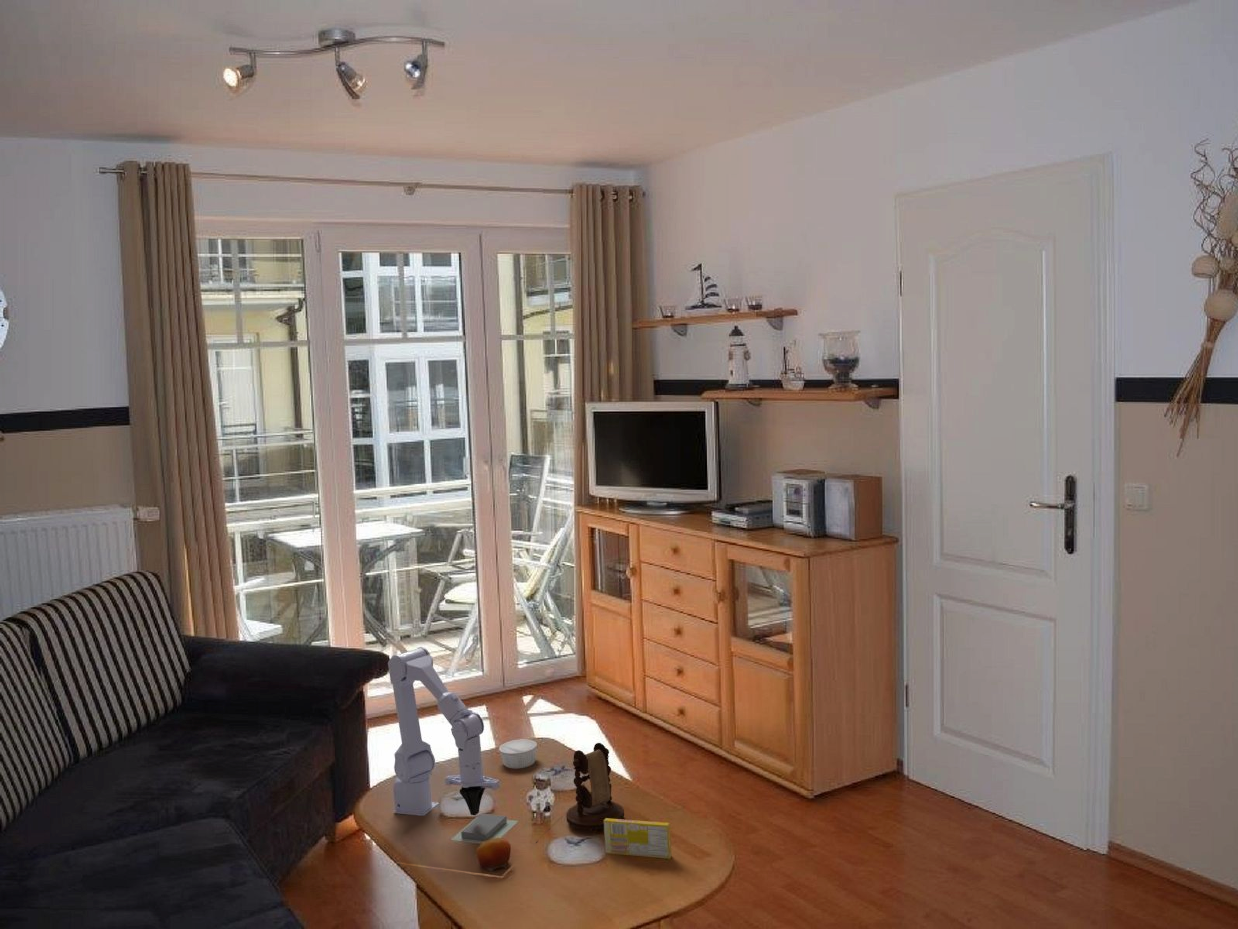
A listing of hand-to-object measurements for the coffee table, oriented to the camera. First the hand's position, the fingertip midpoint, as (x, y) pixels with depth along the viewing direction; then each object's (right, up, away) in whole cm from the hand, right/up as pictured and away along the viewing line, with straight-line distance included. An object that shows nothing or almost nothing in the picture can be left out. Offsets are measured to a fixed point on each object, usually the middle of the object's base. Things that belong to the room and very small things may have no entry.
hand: (474, 813), depth 289 cm
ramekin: (+7, +1, +45) cm, 45 cm away
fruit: (+7, -7, -19) cm, 22 cm away
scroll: (+31, -3, +1) cm, 31 cm away
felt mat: (+3, -5, 0) cm, 5 cm away
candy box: (+41, -4, -18) cm, 45 cm away
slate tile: (-1, -3, +1) cm, 3 cm away
